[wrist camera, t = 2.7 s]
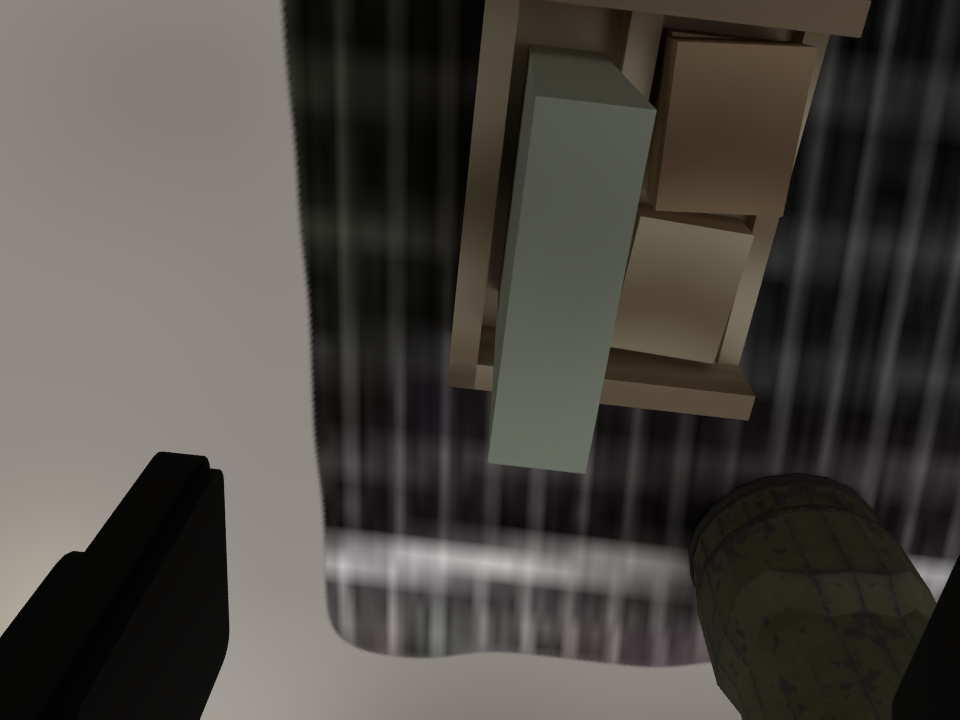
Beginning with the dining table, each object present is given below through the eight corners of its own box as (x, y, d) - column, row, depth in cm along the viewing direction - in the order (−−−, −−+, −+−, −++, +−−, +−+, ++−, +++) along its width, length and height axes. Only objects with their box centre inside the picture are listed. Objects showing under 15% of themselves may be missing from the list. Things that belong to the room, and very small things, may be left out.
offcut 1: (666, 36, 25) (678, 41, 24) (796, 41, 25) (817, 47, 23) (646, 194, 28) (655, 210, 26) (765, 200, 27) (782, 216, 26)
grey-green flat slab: (528, 43, 27) (535, 95, 17) (602, 52, 27) (656, 110, 17) (498, 291, 31) (487, 462, 21) (562, 298, 31) (585, 474, 21)
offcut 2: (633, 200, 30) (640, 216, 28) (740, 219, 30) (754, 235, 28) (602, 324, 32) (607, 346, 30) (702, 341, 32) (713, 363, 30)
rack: (494, -44, 27) (489, -45, 23) (819, -5, 27) (871, 0, 23) (455, 334, 33) (446, 386, 29) (720, 365, 33) (748, 420, 29)
